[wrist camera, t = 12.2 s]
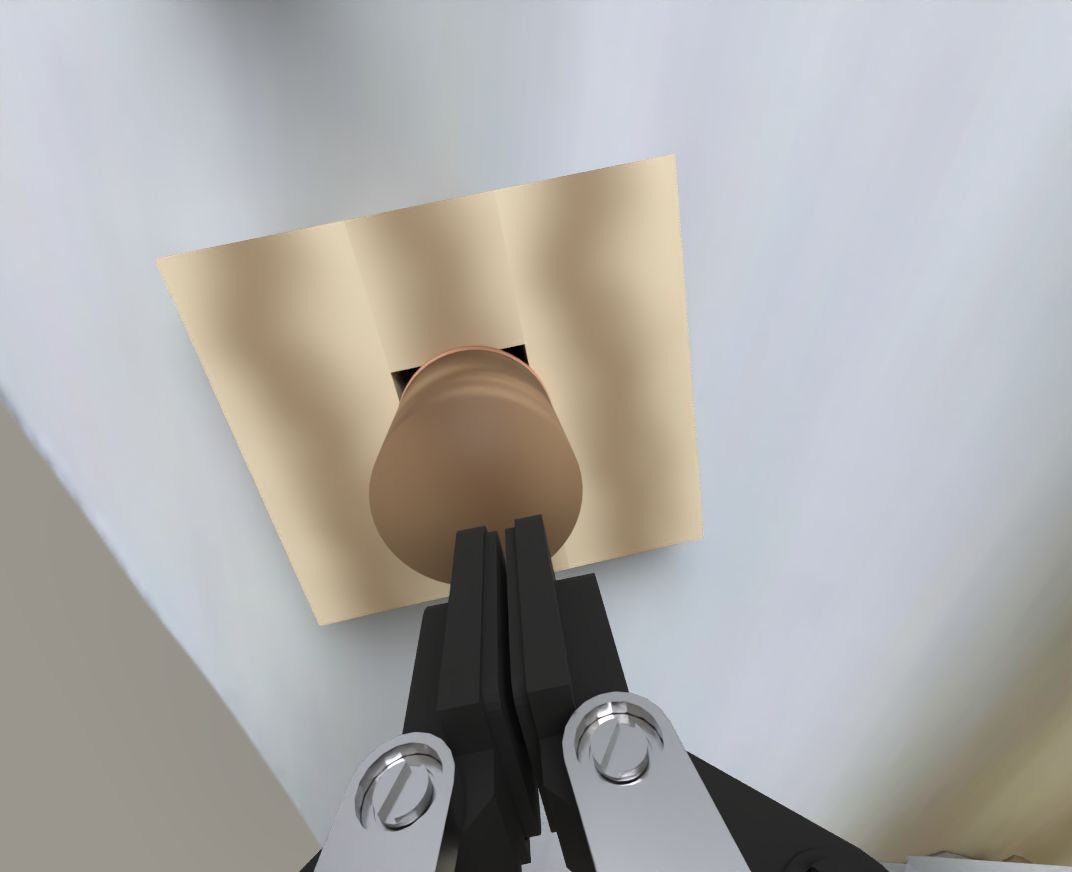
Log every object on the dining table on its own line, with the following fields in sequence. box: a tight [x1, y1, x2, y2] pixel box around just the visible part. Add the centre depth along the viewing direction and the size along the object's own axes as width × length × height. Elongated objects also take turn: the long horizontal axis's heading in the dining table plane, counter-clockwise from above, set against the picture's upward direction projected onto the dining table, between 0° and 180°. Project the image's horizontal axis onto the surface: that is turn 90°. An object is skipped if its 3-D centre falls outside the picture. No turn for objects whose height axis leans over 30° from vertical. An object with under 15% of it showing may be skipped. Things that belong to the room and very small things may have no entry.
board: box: [155, 154, 704, 626], centre depth 22 cm, size 18×16×4 cm
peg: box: [369, 346, 583, 584], centre depth 19 cm, size 6×6×10 cm
